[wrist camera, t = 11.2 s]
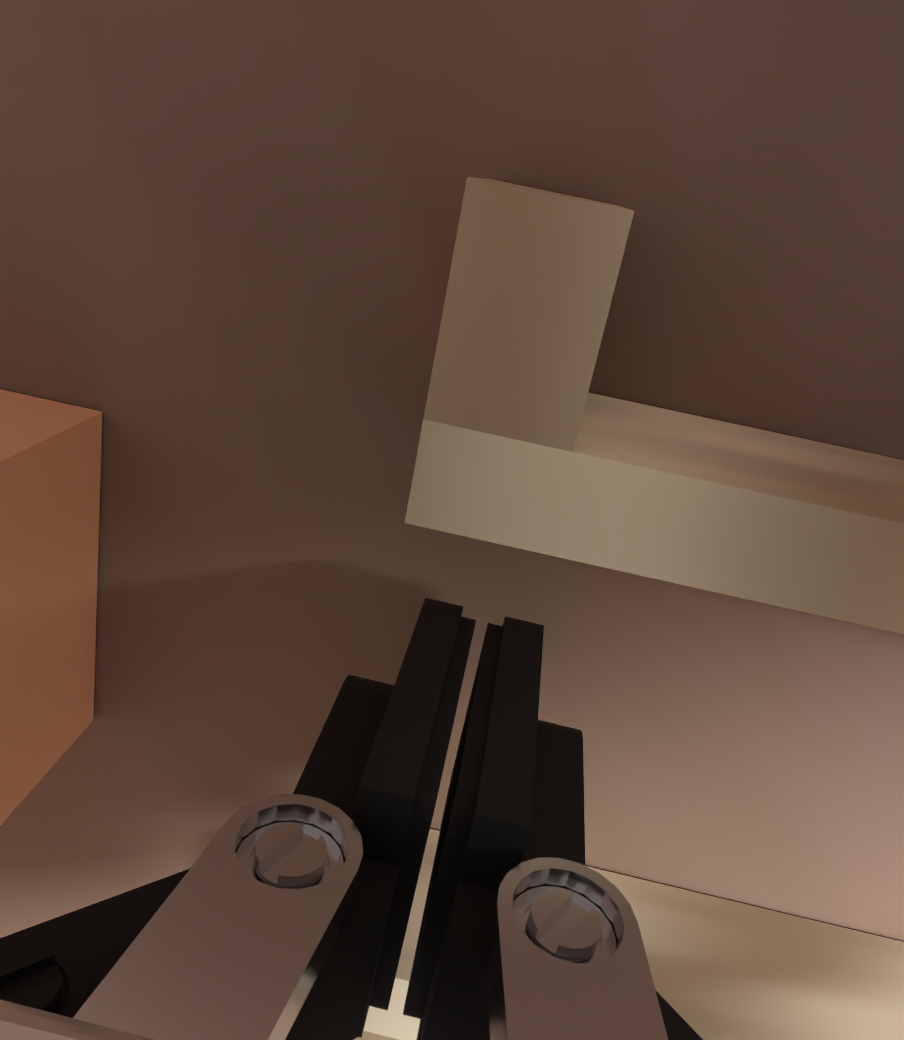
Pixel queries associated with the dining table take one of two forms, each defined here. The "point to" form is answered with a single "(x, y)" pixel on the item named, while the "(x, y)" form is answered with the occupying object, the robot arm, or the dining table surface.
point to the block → (46, 584)
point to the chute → (651, 566)
